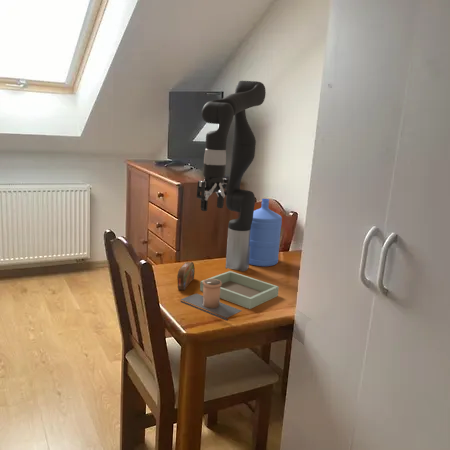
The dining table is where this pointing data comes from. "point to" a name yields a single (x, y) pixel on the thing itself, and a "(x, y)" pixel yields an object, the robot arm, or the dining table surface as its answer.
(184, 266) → the tin
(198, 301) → the slate tile
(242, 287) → the pale green tray
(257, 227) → the water jug
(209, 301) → the clay pot
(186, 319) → the dining table surface
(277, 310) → the dining table surface
